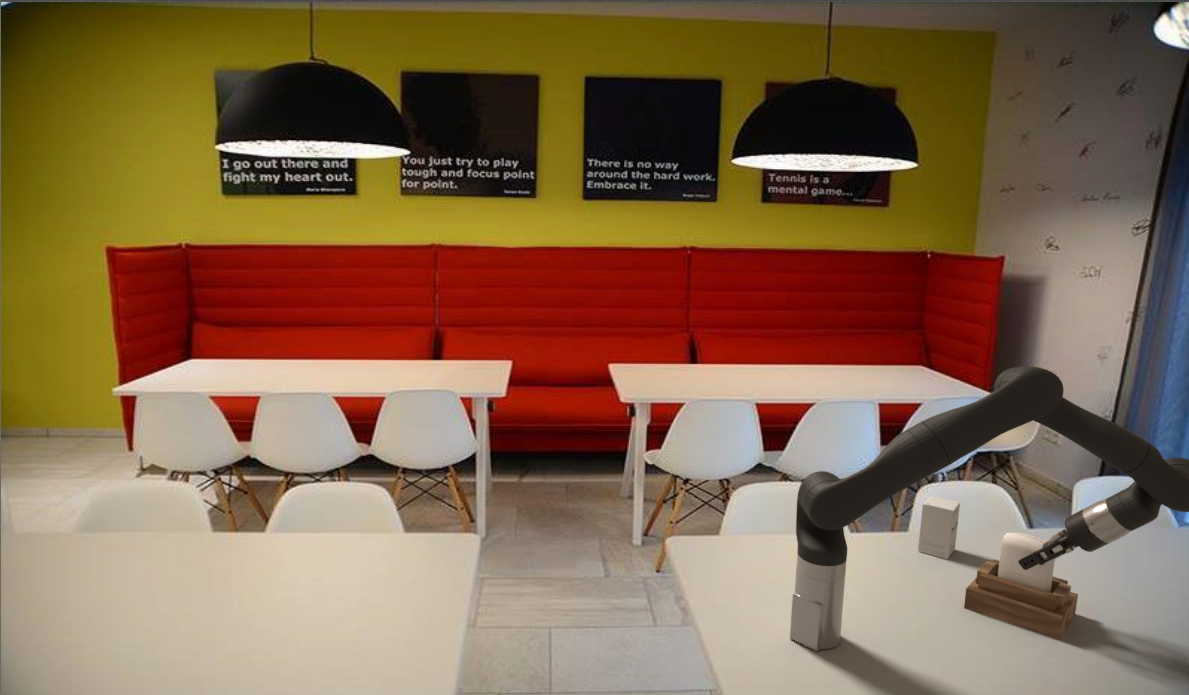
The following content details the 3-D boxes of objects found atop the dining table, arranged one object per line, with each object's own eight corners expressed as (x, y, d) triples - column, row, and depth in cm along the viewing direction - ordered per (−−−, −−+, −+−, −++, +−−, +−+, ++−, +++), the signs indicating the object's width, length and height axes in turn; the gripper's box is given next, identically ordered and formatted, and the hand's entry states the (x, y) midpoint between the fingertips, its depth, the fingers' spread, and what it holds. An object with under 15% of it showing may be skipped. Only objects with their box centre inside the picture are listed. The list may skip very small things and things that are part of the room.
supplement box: (948, 560, 191) (953, 510, 189) (916, 551, 196) (921, 503, 193) (956, 549, 197) (961, 501, 195) (925, 541, 202) (929, 494, 199)
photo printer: (992, 585, 169) (1000, 531, 167) (1001, 579, 172) (1008, 526, 170) (1044, 604, 161) (1053, 547, 159) (1052, 598, 164) (1060, 542, 162)
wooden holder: (1058, 642, 157) (1063, 604, 155) (963, 609, 169) (967, 575, 167) (1074, 616, 167) (1079, 580, 166) (984, 587, 179) (988, 554, 177)
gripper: (1096, 499, 161) (1029, 534, 171) (1073, 517, 151) (1004, 553, 162) (1123, 531, 158) (1053, 565, 168) (1101, 552, 148) (1028, 586, 159)
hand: (1029, 559), depth 165 cm, fingers open, 8 cm apart
